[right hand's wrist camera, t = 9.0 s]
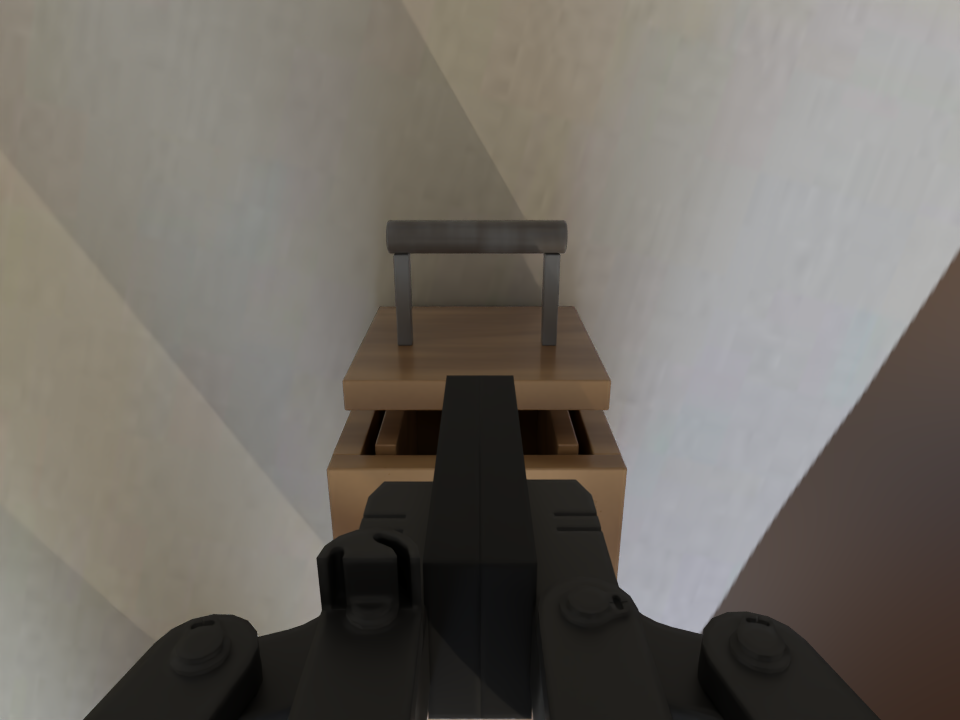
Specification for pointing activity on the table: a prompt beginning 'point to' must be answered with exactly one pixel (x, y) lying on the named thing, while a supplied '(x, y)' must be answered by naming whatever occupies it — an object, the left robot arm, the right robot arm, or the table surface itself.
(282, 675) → the right robot arm
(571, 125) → the table surface
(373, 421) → the cabinet
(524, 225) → the drawer
